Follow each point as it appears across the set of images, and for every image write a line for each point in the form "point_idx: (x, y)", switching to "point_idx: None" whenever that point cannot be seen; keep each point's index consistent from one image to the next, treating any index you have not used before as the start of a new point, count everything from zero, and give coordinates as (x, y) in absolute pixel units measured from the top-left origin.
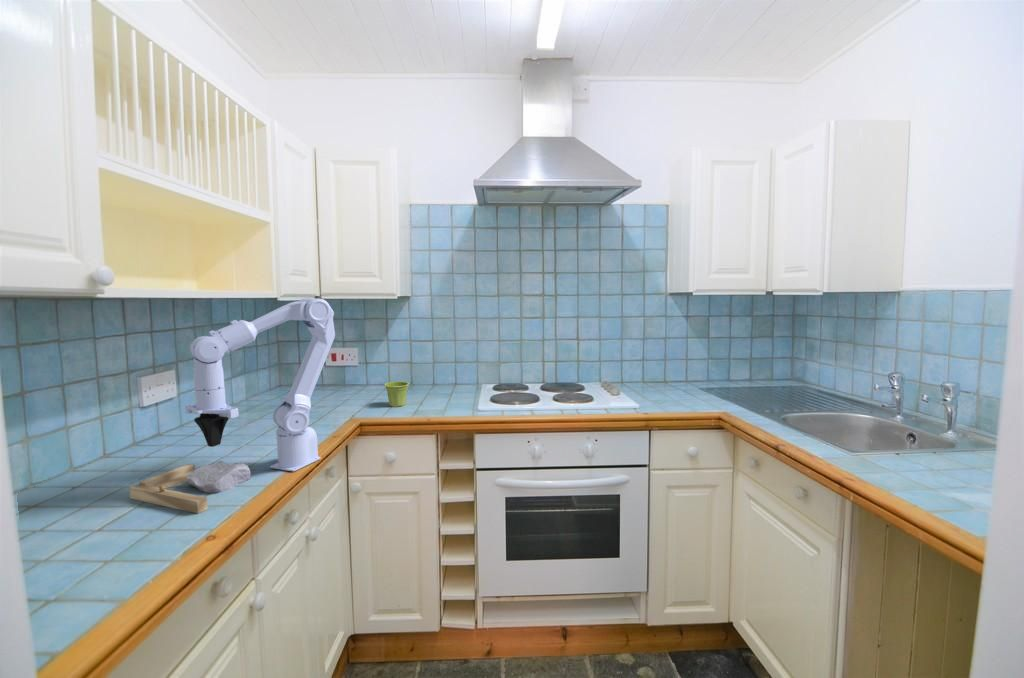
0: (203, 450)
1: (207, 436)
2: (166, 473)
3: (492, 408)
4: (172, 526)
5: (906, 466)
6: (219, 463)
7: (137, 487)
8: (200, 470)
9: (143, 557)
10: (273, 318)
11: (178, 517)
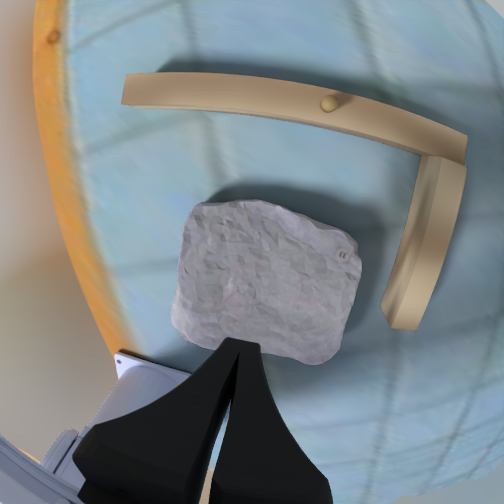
0: (450, 421)
1: (237, 379)
2: (436, 247)
3: None
4: (156, 19)
5: None
6: (305, 349)
7: (446, 137)
8: (328, 287)
9: None
10: None
11: (180, 50)
